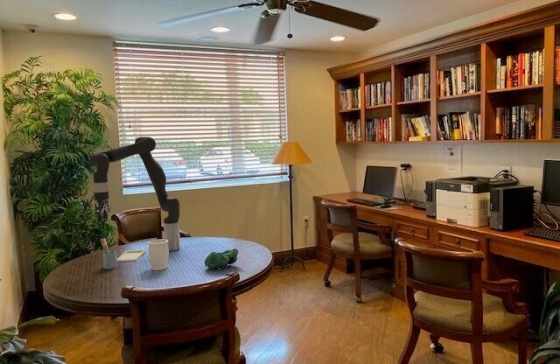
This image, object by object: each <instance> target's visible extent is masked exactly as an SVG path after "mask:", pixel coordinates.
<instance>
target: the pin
mask: <svg viewBox="0 0 560 364" xmlns="http://www.w3.org/2000/svg"><path fill="white" fill-rule="evenodd" d="M100 244H101V246H102V249H103V253H104V252H105V253H106V254H110V251H111V250H110V249H109V246H108V244H107V241H106V238H105V237H104V238H100Z"/></svg>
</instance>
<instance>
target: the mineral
mask: <svg viewBox="0 0 560 364" xmlns="http://www.w3.org/2000/svg"><path fill="white" fill-rule="evenodd" d="M238 255H239V250H238V249H237V248H236V247H234V248H233V249H227V250H224V251H222V252H216V251H212V252H210V253H209V254H208V255H207V256H206V257H205V260H204V266H205V267H207V268H209V269H213V270H219V269H218V268H222V269H224V268H223V267H226V266H227V265H228V264H231V265H233V264H235V263H237V261H238ZM227 267H228V266H227ZM227 267H226V268H227Z"/></svg>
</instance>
